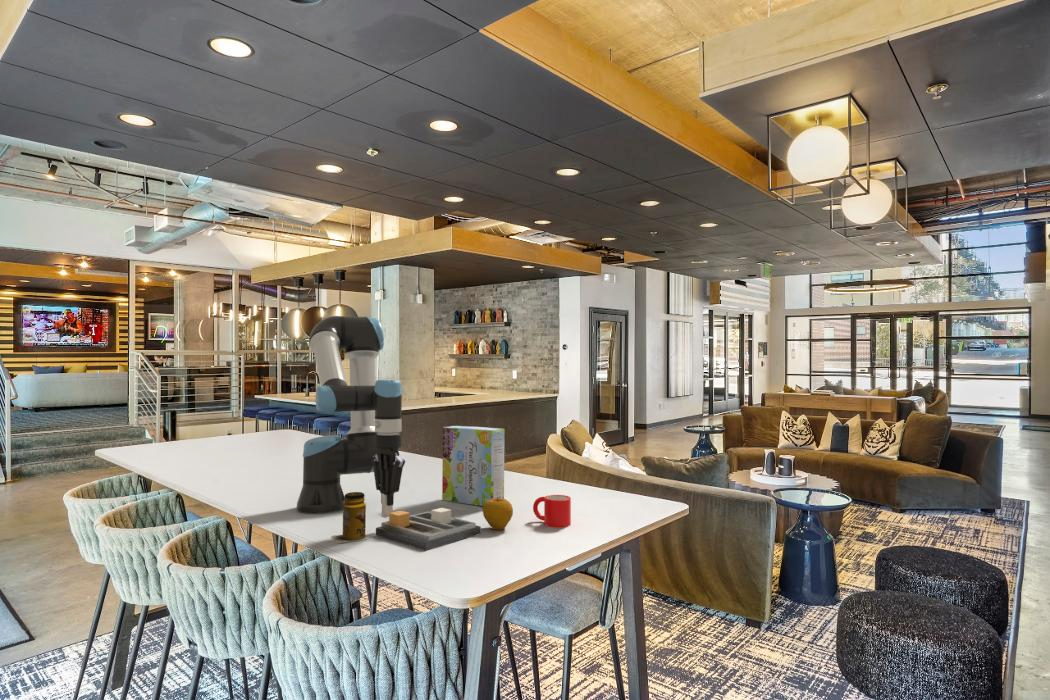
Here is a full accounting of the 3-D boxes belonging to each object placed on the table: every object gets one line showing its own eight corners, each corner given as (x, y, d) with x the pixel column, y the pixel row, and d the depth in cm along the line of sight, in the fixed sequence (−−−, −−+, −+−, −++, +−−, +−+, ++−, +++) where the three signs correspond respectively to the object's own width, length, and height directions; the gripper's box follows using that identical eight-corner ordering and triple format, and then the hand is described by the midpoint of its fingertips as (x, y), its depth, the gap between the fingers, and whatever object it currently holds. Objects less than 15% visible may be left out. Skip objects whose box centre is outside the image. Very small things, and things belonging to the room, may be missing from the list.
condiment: (370, 538, 163) (370, 494, 163) (338, 544, 158) (339, 498, 158) (361, 532, 169) (362, 489, 169) (331, 537, 164) (331, 493, 164)
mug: (537, 517, 186) (537, 492, 186) (574, 522, 181) (574, 496, 181) (527, 524, 179) (527, 497, 179) (565, 528, 174) (565, 501, 174)
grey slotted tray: (375, 535, 166) (375, 523, 166) (430, 520, 181) (430, 510, 181) (425, 550, 153) (425, 537, 153) (480, 533, 168) (480, 522, 168)
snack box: (506, 503, 204) (506, 428, 205) (491, 508, 197) (491, 430, 198) (456, 496, 216) (456, 424, 217) (440, 500, 209) (440, 426, 209)
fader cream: (431, 522, 171) (431, 510, 171) (441, 519, 174) (441, 507, 174) (440, 525, 168) (440, 512, 168) (451, 522, 171) (451, 509, 171)
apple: (477, 526, 176) (477, 495, 176) (506, 523, 179) (506, 493, 179) (488, 534, 167) (488, 502, 168) (517, 531, 171) (517, 499, 171)
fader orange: (389, 525, 167) (389, 513, 167) (400, 522, 170) (400, 510, 170) (398, 528, 165) (398, 515, 165) (409, 525, 168) (409, 512, 168)
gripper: (363, 432, 173) (362, 515, 172) (391, 436, 164) (390, 522, 164) (384, 430, 179) (384, 510, 178) (412, 434, 170) (412, 517, 170)
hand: (387, 516), depth 171 cm, fingers closed
